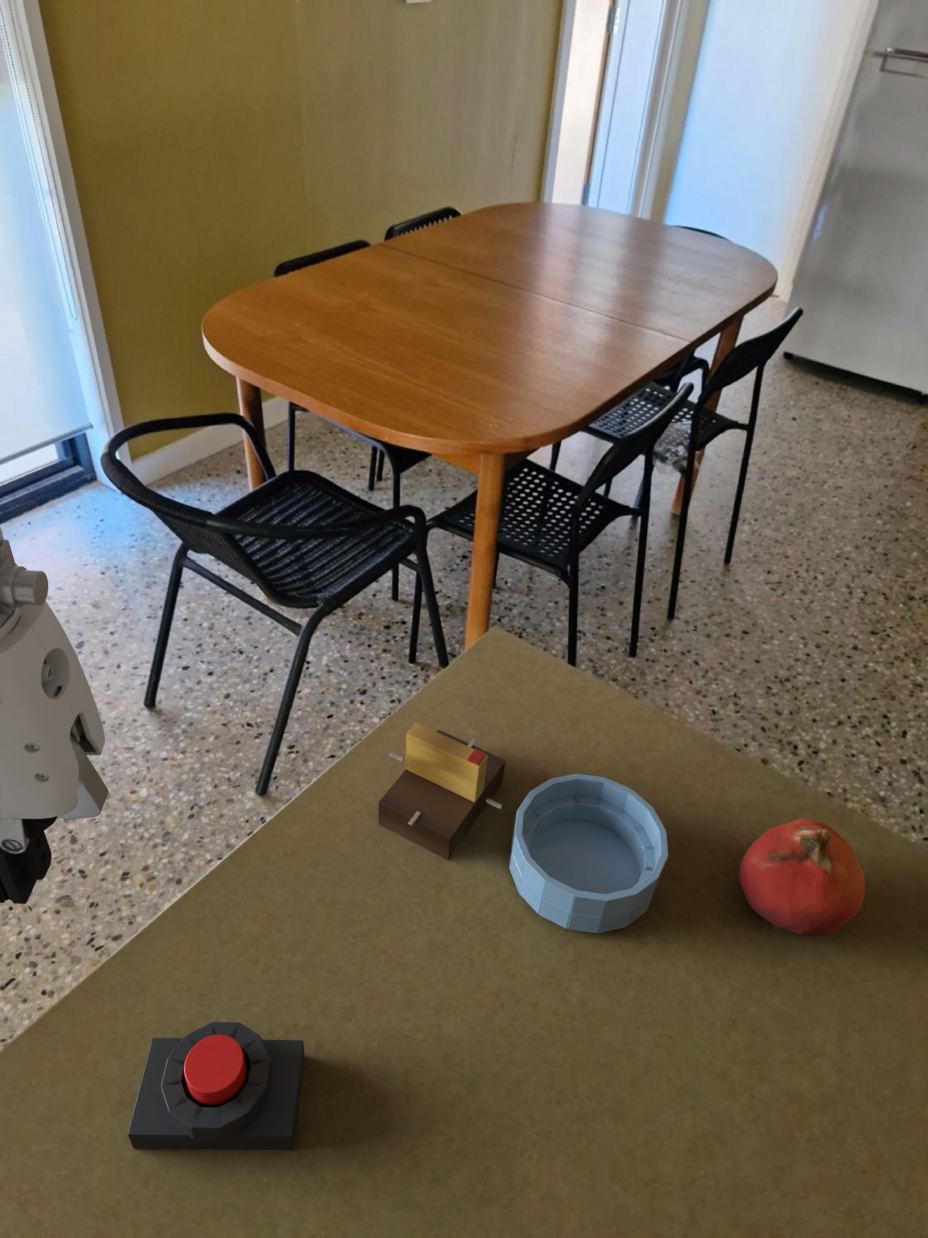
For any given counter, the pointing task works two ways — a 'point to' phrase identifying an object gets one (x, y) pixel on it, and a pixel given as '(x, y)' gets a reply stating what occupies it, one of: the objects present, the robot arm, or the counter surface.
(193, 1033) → the button box
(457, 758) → the yellow block red tip
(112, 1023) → the counter surface
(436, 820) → the base
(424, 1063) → the counter surface
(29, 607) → the robot arm
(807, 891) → the tomato
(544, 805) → the basin
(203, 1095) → the button
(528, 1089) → the counter surface
